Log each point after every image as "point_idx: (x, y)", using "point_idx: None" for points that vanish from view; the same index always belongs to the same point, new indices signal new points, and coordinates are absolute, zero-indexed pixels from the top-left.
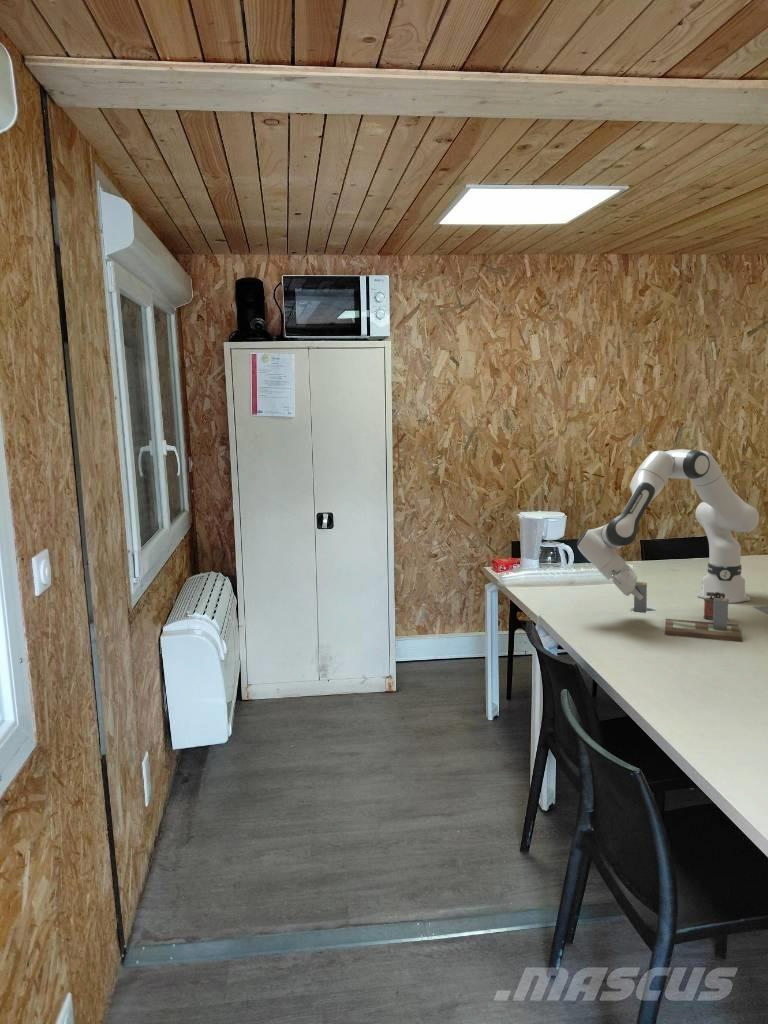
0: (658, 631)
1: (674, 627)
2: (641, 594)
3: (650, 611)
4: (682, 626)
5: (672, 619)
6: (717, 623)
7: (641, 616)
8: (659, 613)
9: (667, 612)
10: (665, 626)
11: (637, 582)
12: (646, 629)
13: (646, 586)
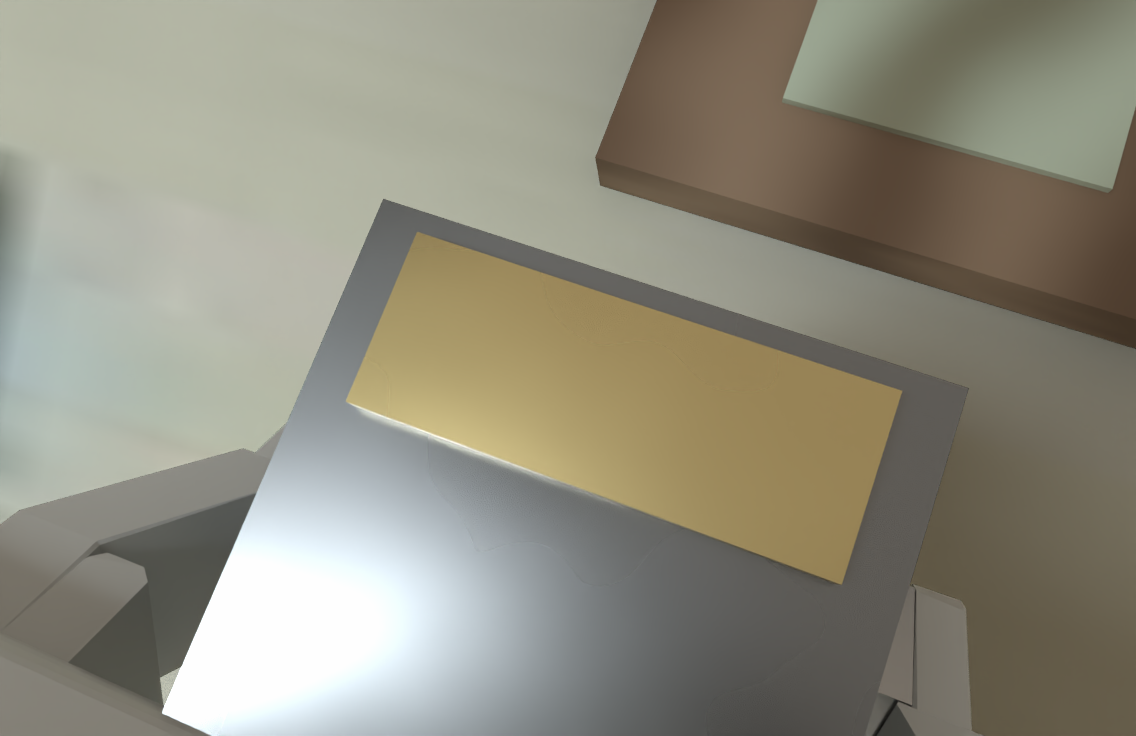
0: (1053, 418)
1: (1115, 169)
2: (916, 651)
3: (44, 232)
4: (1058, 41)
5: (650, 76)
6: None
7: (262, 435)
8: (157, 141)
9: (130, 28)
10: (1037, 284)
11: (253, 673)
12: (953, 574)
13: (924, 393)
